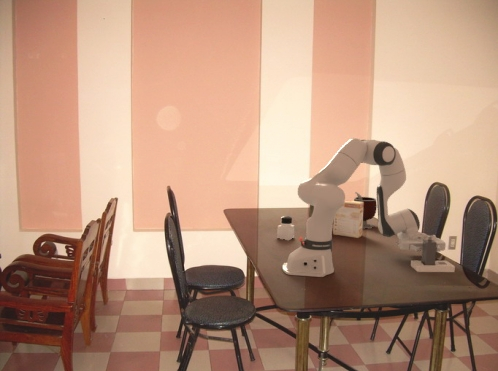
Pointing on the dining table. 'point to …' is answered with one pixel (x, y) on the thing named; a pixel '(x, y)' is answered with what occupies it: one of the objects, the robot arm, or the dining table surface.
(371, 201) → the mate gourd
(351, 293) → the dining table surface
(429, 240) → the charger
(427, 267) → the beige holder tray
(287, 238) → the medicine bottle
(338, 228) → the coffeecake box
